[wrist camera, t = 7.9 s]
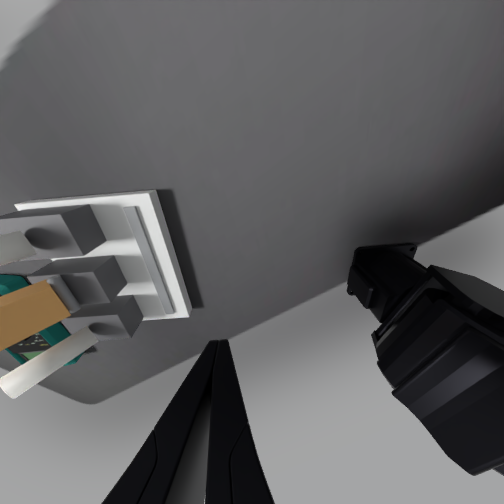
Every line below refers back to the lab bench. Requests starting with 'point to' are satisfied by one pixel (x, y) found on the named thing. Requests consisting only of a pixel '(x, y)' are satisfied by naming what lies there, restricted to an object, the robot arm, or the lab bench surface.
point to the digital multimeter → (39, 340)
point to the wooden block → (34, 309)
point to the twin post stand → (95, 269)
